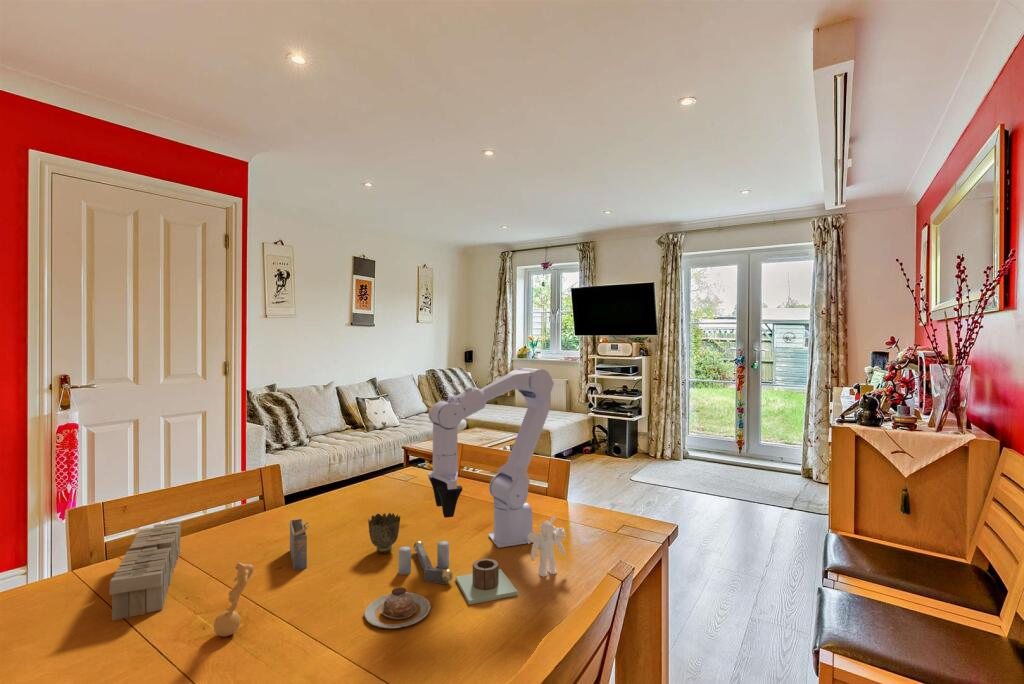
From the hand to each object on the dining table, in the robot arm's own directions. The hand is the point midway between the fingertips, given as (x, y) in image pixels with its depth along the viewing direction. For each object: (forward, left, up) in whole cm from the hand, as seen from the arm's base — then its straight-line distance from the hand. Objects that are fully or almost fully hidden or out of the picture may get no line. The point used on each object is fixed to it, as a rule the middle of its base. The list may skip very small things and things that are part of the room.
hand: (444, 511), depth 116 cm
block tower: (+60, -8, -11) cm, 62 cm away
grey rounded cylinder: (+10, +5, -10) cm, 15 cm away
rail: (+4, +5, -10) cm, 12 cm away
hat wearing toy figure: (-19, +16, -11) cm, 27 cm away
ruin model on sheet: (+32, -10, -11) cm, 35 cm away
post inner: (+2, +5, -10) cm, 12 cm away
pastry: (+14, +20, -11) cm, 27 cm away
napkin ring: (-4, +18, -10) cm, 20 cm away
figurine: (+41, +17, -11) cm, 46 cm away
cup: (+13, -7, -11) cm, 18 cm away
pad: (-4, +18, -10) cm, 21 cm away
